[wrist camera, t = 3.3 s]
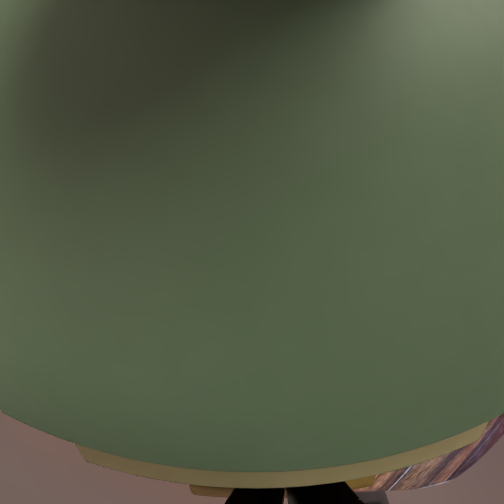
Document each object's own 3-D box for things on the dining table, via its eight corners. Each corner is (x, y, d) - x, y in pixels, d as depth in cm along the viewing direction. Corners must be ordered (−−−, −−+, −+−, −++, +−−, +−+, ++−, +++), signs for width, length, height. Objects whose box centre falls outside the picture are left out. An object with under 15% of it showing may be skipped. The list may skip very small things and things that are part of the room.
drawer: (374, 403, 11) (422, 516, 4) (180, 411, 11) (139, 530, 5) (385, 65, 8) (487, -25, 2) (145, 73, 8) (35, -18, 2)
